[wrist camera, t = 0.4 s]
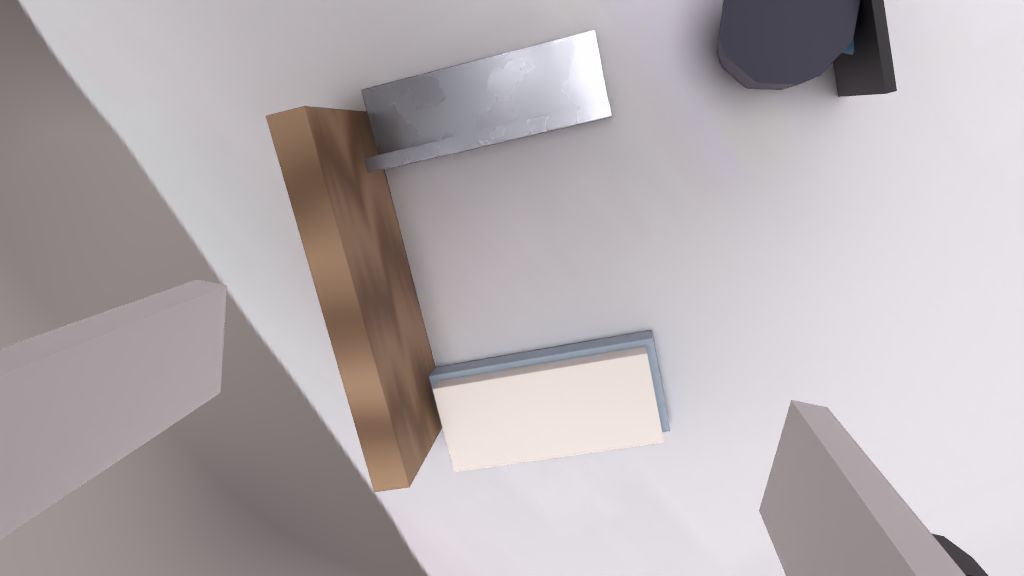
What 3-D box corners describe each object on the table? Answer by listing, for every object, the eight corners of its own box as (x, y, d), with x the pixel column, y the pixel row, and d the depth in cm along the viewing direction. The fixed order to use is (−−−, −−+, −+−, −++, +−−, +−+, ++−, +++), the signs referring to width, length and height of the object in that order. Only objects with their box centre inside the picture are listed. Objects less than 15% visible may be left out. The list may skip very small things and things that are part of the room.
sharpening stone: (435, 367, 43) (423, 384, 40) (651, 330, 40) (654, 345, 38) (456, 451, 44) (446, 473, 41) (667, 419, 42) (672, 441, 39)
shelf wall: (338, 119, 40) (265, 115, 31) (369, 112, 40) (304, 106, 31) (419, 421, 44) (374, 492, 35) (448, 416, 44) (409, 487, 35)
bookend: (363, 90, 39) (344, 86, 37) (594, 30, 37) (594, 22, 34) (384, 169, 40) (367, 172, 38) (611, 117, 38) (611, 115, 35)
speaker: (871, -17, 34) (946, -64, 25) (845, 97, 36) (907, 95, 26) (721, -25, 36) (736, -72, 26) (703, 86, 38) (712, 79, 28)
